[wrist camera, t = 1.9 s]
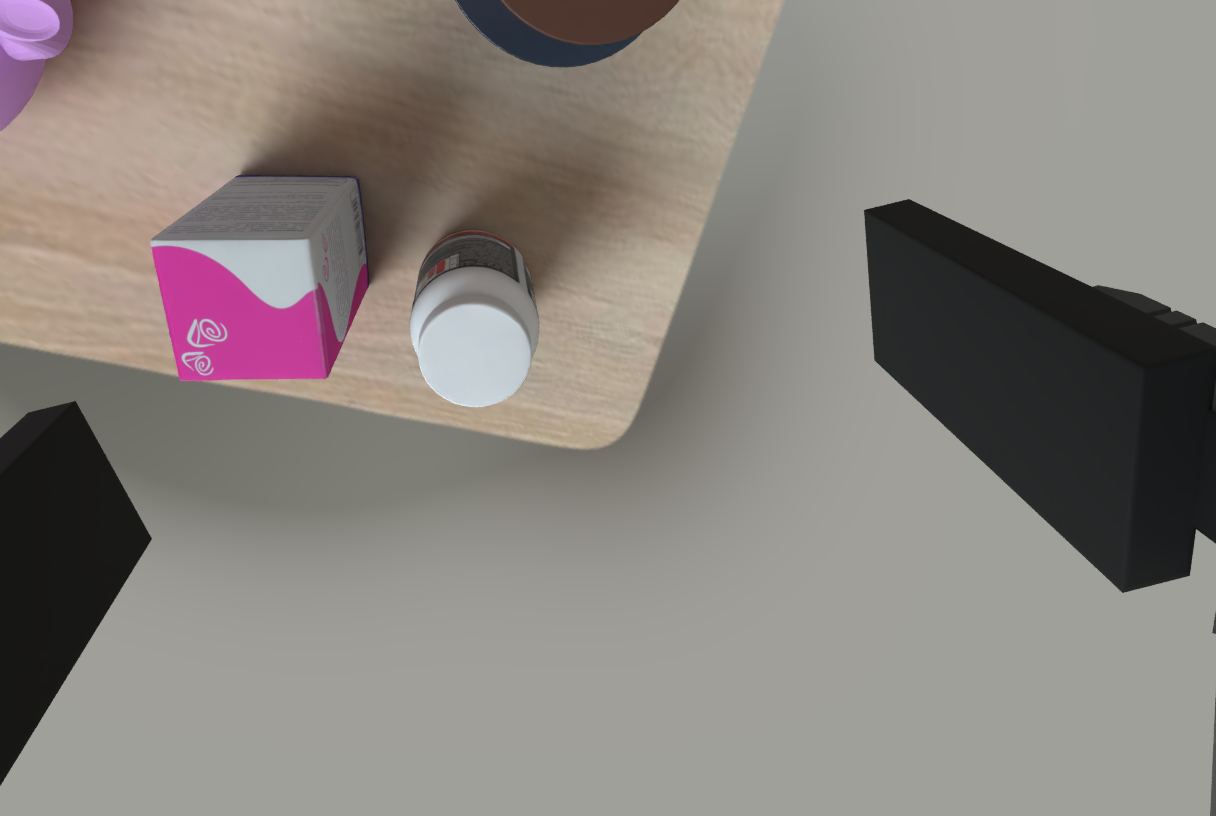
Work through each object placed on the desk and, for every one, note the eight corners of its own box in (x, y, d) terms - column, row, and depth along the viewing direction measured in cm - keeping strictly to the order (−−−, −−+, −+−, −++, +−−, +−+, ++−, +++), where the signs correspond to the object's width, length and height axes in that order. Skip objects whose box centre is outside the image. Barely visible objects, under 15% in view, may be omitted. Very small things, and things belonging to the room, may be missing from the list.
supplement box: (230, 173, 40) (144, 234, 30) (360, 174, 41) (320, 234, 31) (249, 292, 43) (175, 386, 32) (371, 290, 43) (337, 381, 33)
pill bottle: (395, 281, 43) (373, 355, 34) (474, 203, 42) (472, 259, 33) (477, 355, 46) (476, 442, 37) (554, 283, 44) (572, 355, 36)
